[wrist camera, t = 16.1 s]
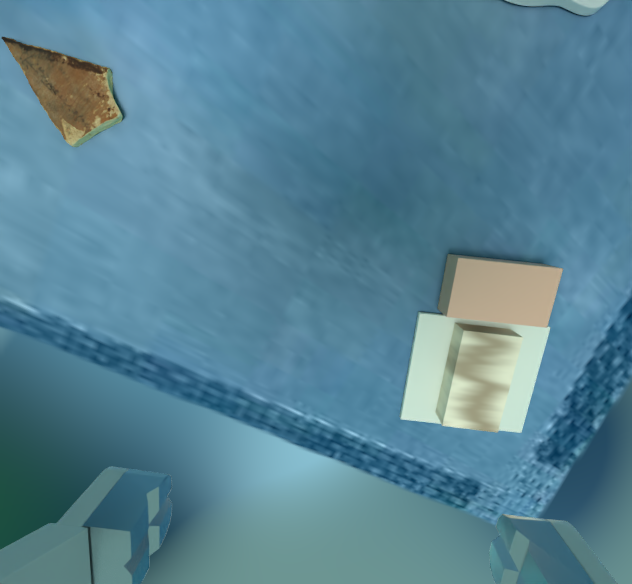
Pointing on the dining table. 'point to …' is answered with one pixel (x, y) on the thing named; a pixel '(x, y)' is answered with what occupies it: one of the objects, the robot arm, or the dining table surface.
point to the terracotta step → (498, 290)
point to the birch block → (477, 376)
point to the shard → (69, 91)
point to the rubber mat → (431, 363)
